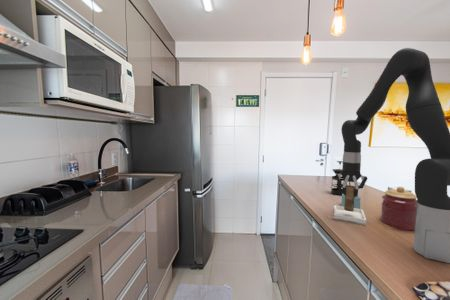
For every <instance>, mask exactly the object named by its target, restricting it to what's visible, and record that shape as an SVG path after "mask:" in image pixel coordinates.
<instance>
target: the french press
mask: <svg viewBox="0 0 450 300" xmlns="http://www.w3.org/2000/svg"><path fill="white" fill-rule="evenodd" d="M336 162H337V163H338V164H339V165H342V163H343V160H342V161H341V160H338V161H336ZM332 172H334V174H340V173H341V172H342V168H337V169H336V168H334V169H333V168H332ZM339 179H340V182H341V183H343V182H344V178H343V177H342V175H341V176H340V178H339ZM331 180H334V181H336V183H331V189H330V190H331V192H330V194H331V195H333V196H339V197H342V187H341V186H339V185H338V182H337V179H336V176H335V175H333V176H332V175H331ZM346 185H351V182H348V183H347V184H346Z"/></svg>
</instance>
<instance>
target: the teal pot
mask: <svg viewBox="0 0 450 300" xmlns="http://www.w3.org/2000/svg"><path fill="white" fill-rule="evenodd" d="M344 205H345V195H344V194H342V196H341V206H343V207H344ZM354 208H356V209H361V196H360V195H359V194H358V195H357V196H356V197H355V196H354Z"/></svg>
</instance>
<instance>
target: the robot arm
mask: <svg viewBox="0 0 450 300" xmlns="http://www.w3.org/2000/svg"><path fill="white" fill-rule="evenodd" d="M401 76H402V77H403V78H404V80H405V82H406V85H407V88H408V94H407V95H408V96H407V98H406V99H407V100H406V103H405V113H406V117H407V122H408V124H409V126H410V129H411V130H412V131H413V132H414V134H416V135H417V136H418V138H420V139H421V141H422V142H423V143H424V144H425V146H426V148H427V150H428V153H429V156H430V158H425V159H422V160H421V161H419V162H418V163H417V165H416V167H415V171H414V195H416V196H417V198H416V200H417V209H416V221H415V230H414V238H413V246H412V247H413V251H415V252H416V254H419V255H421V256H422V257H423V258H425V259H429V260H432V261H433V260H434V261H438V262H442V263H447V264H450V196H449V195H448V186H449V187H450V129H449V126H448V124H447V120H446V117H445V112H444V110H443V107H442V103H441V101H440V98H439V96H438V95H439V94H438V92H437V89H436V87H435V84H434V81H433V77H432V70H431V63H430V58H429V56H428V54H427V53H426V52H424V51H422V50H419V49H415V48H412V47H404V48H401V49H399V50H398V51H396V52H395V53H394V54H393V55H392V56H391V57H390V59H389V61H388V62H387V64H386V65H385V67H384V69H383V71H382V73H381V75H379V77H378V79H377V81H376V83H375V84H374V87H373V88H372V90H371V91H370V93H369V95H368V96H367V97H366V99H365V100H363V102H362V103H361V105H360V106H359V107H358V108H357V110H356V111H355V114H356V117H357V118H356V119H347V120H345V121H344V122H343V123H342V125H341V136H342V140H343V143H344V146H343V154H342V167H341V169H342V172H341V173H340V174H335V173H334V174H335V175H334V176H336V179H337V180H336V183H337V182H338V185H339V186H341V187H342V188H341V189H342V194H344V195H345V191H346V188H345V186H346V184H347V185H348V183H349V182H350V183H353V185H354V186H355V194H354V196H355V197H356V196H357V195H358V196H359V189H363V188H364V186H365V185H366V182H367V181H368V176H367V175H366V176H365V175H362V173H361V167H362V162H361V161H362V152H361V151H362V141H361V140H358V139H357V136H358V135H361V134H363V133H364V132H365V131H366V130H367V129H368V127H369V125H370V123H371V121H372V119H373V118H374V117H375V115H377V113H378V112H379V111H380V109H382V107H383V106H384V104H385V102H386V100H387V97H388V94H389V91H390V89H391V87H392V86H393V84H394V83H395V82H396V81H397V80H398V79H399V78H400V77H401ZM340 176H342V177H343V178H344V181H342V182H340V179H341V178H340ZM339 178H340V179H339ZM343 178H342V179H343ZM360 178H361V181H360V184H358V182H357V181H359V179H360Z"/></svg>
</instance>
